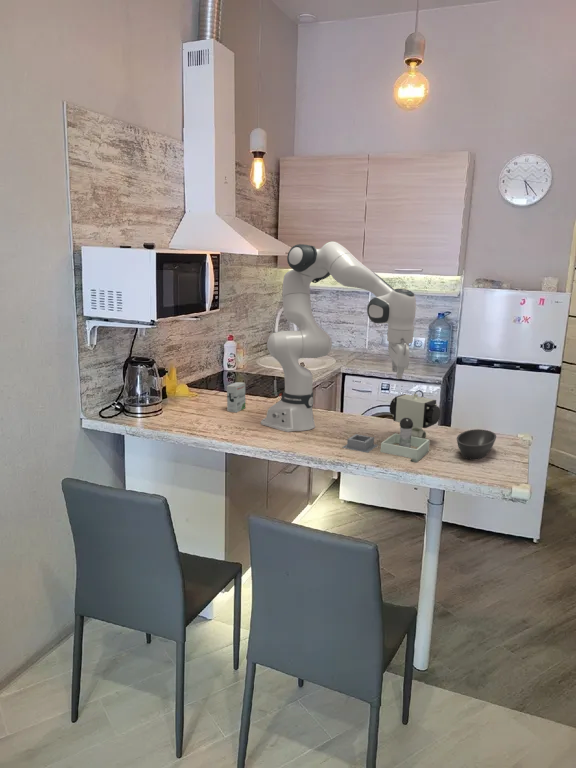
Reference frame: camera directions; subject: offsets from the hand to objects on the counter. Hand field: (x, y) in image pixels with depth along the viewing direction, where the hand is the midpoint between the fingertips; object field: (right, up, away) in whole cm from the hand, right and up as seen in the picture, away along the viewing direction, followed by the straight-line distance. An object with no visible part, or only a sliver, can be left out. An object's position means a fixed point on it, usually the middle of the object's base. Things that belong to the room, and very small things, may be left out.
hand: (396, 374), depth 206 cm
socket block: (-13, -27, +3) cm, 30 cm away
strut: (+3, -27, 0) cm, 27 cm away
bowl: (+28, -28, +1) cm, 40 cm away
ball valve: (+10, -25, +17) cm, 31 cm away
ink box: (-62, -15, +52) cm, 82 cm away
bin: (+3, -28, 0) cm, 28 cm away
